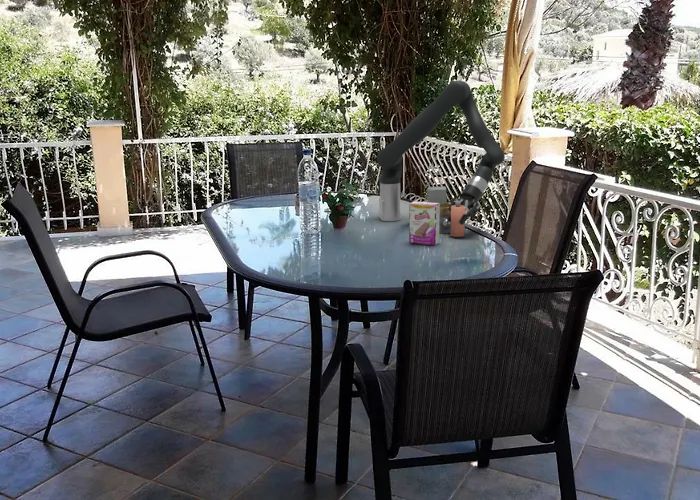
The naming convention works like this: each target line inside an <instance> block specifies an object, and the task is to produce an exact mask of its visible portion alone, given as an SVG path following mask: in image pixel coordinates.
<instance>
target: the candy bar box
mask: <svg viewBox="0 0 700 500" xmlns="http://www.w3.org/2000/svg"><path fill="white" fill-rule="evenodd" d="M439 213H440V203H429V202H428V201H415V200H413V201H412V202H410V203H409V217H408V218H409V219H408V220H409V224H408V225H409V226H408V227H409V230H408V231H409V237H408V239H409V241H408V243H409V244H414V245H415V244H416V245H423V246H432V247H433V246H437V245H438V244H439V243H440V233H439Z"/></svg>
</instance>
